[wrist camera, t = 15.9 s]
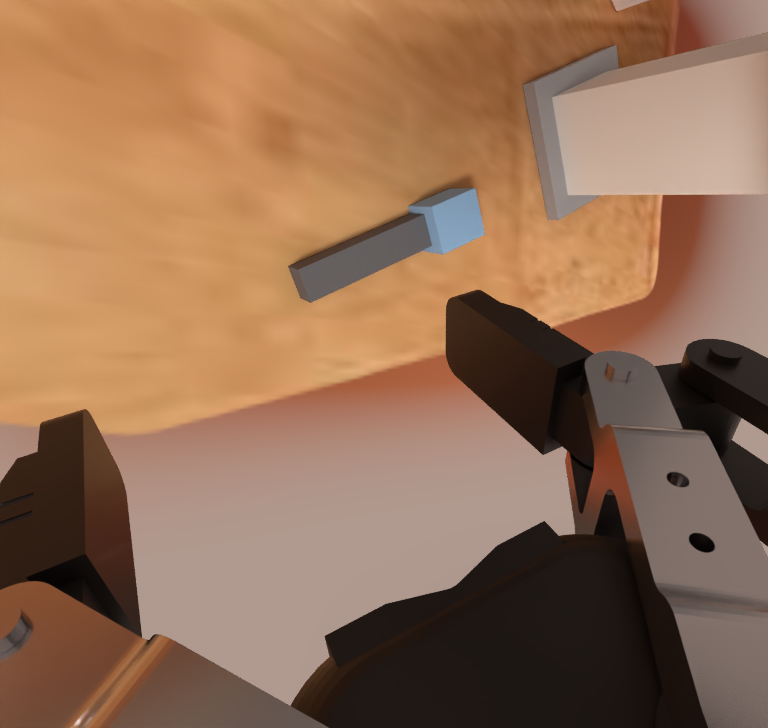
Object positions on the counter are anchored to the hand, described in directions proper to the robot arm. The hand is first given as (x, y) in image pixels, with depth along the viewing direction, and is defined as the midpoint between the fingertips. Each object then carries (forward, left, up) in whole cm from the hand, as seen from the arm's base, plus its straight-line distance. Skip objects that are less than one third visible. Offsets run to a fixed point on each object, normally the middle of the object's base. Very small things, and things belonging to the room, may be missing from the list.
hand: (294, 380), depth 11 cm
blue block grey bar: (+4, +19, -32) cm, 38 cm away
